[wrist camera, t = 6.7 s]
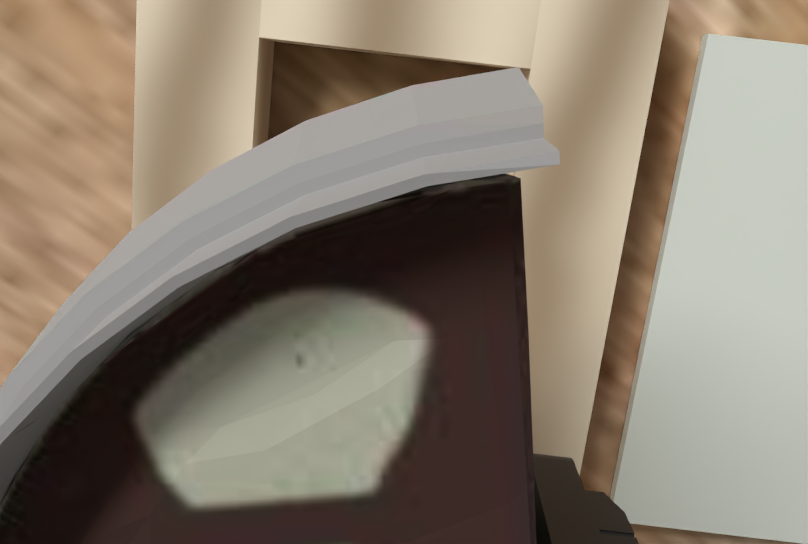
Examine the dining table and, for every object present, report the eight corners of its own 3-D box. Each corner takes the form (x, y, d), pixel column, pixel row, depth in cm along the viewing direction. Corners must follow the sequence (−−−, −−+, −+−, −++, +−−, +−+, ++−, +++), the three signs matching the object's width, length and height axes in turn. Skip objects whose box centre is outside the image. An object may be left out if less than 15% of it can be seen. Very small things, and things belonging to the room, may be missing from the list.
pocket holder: (648, -5, 25) (671, -14, 22) (551, 530, 29) (562, 568, 27) (165, -60, 25) (138, -76, 22) (148, 482, 29) (124, 517, 27)
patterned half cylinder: (151, 101, 14) (-424, 135, 5) (471, 76, 14) (558, 59, 4) (234, 643, 17) (-14, 1350, 8) (500, 633, 17) (590, 1357, 7)
